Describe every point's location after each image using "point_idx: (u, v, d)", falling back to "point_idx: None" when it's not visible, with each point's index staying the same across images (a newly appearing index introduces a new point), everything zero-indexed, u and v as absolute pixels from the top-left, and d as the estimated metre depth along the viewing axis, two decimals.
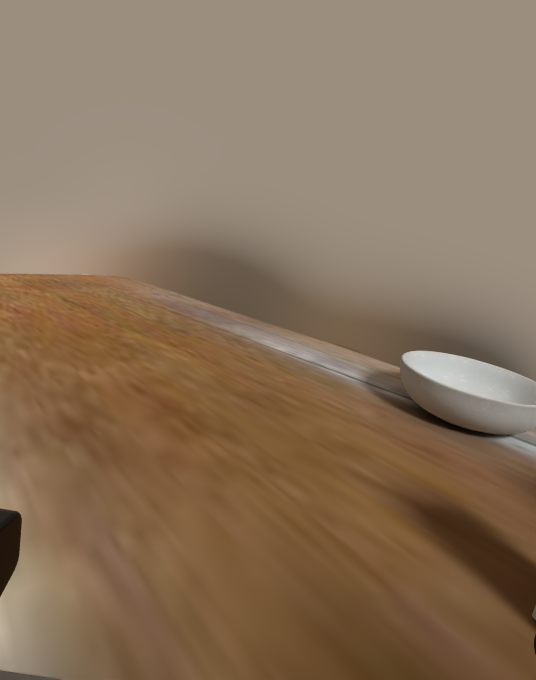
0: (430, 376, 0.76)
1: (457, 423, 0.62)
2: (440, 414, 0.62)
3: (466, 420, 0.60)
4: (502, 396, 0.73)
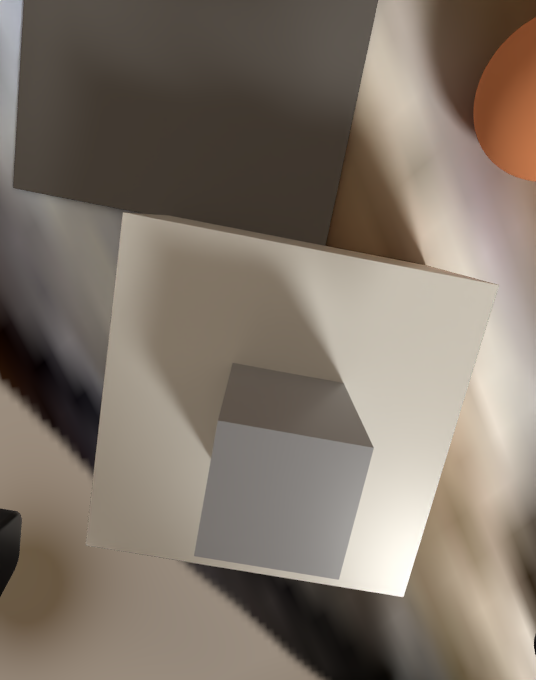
0: None
1: None
2: None
3: None
4: None
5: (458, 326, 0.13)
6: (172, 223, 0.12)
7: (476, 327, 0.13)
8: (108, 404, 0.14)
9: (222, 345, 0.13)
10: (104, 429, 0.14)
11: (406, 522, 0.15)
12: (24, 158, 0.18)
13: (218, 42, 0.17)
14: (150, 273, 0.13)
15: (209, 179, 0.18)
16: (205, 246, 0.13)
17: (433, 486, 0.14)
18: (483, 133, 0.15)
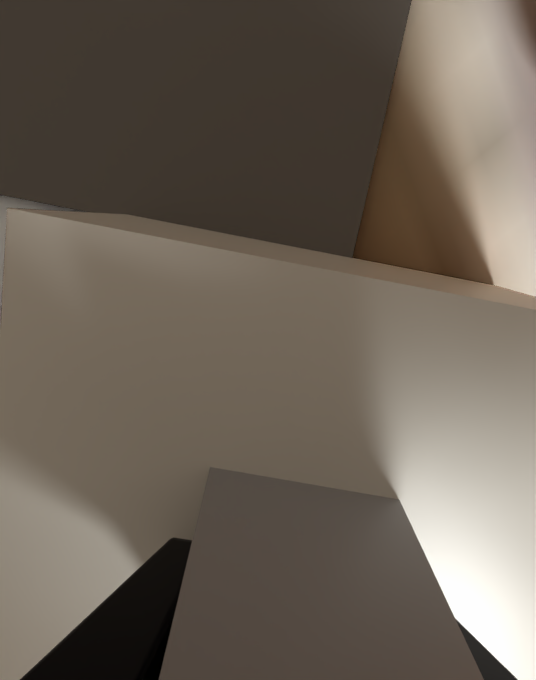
0: None
1: None
2: None
3: None
4: None
5: None
6: (97, 228, 0.07)
7: None
8: (1, 533, 0.08)
9: (192, 437, 0.08)
10: None
11: None
12: None
13: None
14: (62, 316, 0.07)
15: (184, 163, 0.12)
16: (158, 269, 0.07)
17: None
18: None
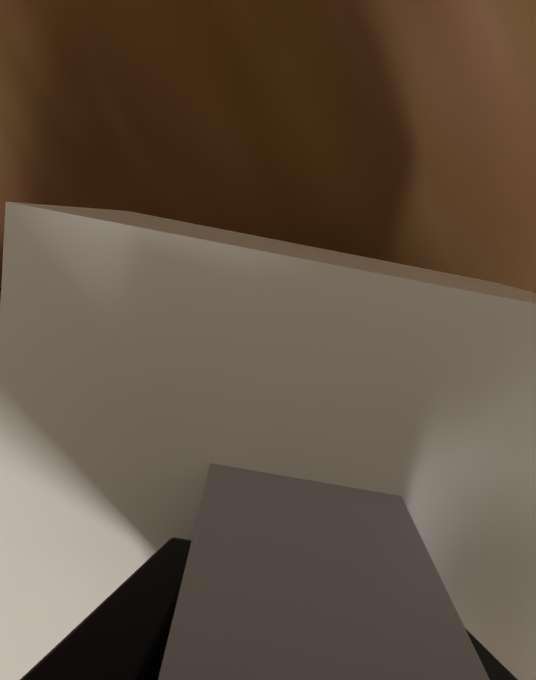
0: None
1: None
2: None
3: None
4: None
5: None
6: (97, 221, 0.07)
7: None
8: (0, 530, 0.08)
9: (192, 433, 0.08)
10: None
11: None
12: None
13: None
14: (61, 311, 0.07)
15: None
16: (159, 263, 0.07)
17: None
18: None
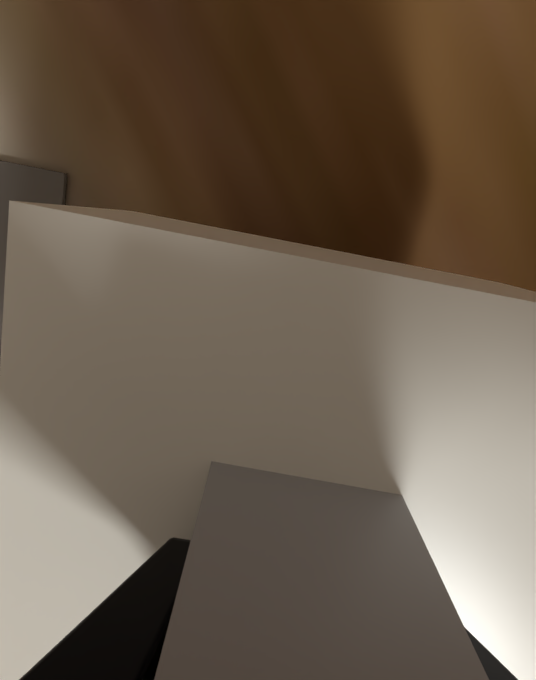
0: None
1: None
2: None
3: None
4: None
5: None
6: (99, 220, 0.07)
7: None
8: (2, 526, 0.08)
9: (193, 431, 0.08)
10: None
11: None
12: None
13: None
14: (63, 309, 0.07)
15: None
16: (160, 262, 0.07)
17: None
18: None
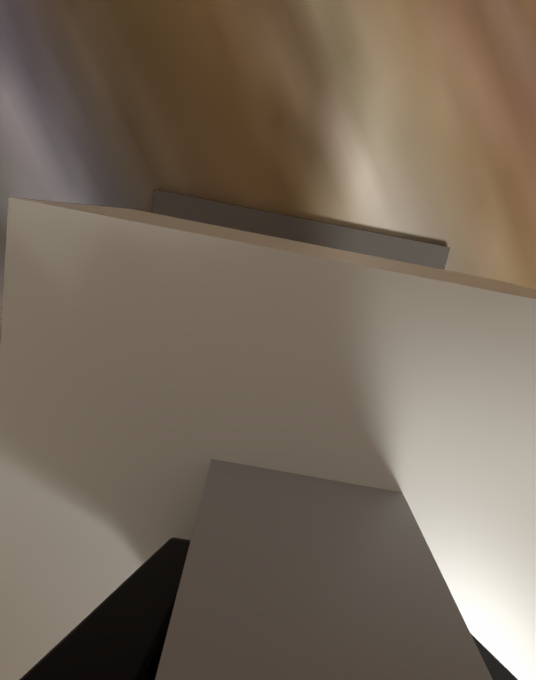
0: None
1: None
2: None
3: None
4: None
5: None
6: (99, 217, 0.07)
7: None
8: (2, 525, 0.08)
9: (193, 429, 0.08)
10: None
11: None
12: None
13: None
14: (63, 307, 0.07)
15: None
16: (160, 259, 0.07)
17: None
18: None
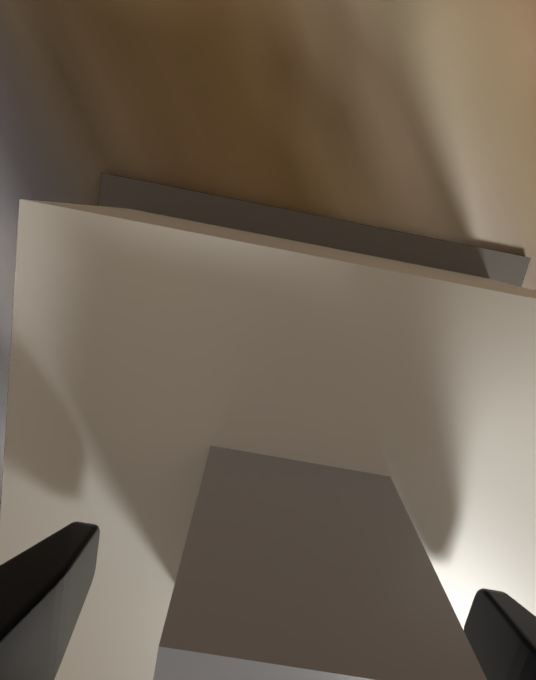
0: None
1: None
2: None
3: None
4: None
5: None
6: (104, 218, 0.07)
7: None
8: (12, 509, 0.09)
9: (193, 417, 0.08)
10: (8, 546, 0.09)
11: None
12: None
13: None
14: (70, 302, 0.08)
15: None
16: (162, 257, 0.07)
17: None
18: None
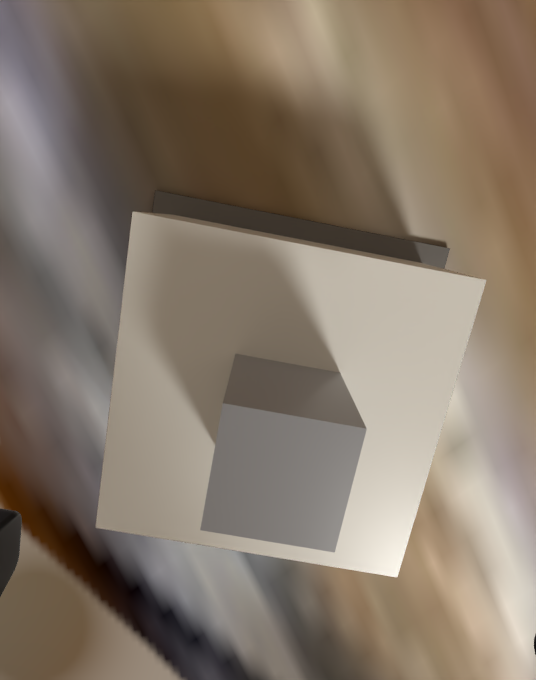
0: None
1: None
2: None
3: None
4: None
5: (448, 319, 0.14)
6: (179, 221, 0.13)
7: (465, 320, 0.14)
8: (118, 393, 0.14)
9: (226, 336, 0.14)
10: (114, 416, 0.15)
11: (400, 506, 0.15)
12: None
13: None
14: (158, 269, 0.14)
15: None
16: (210, 243, 0.13)
17: (425, 471, 0.15)
18: None
